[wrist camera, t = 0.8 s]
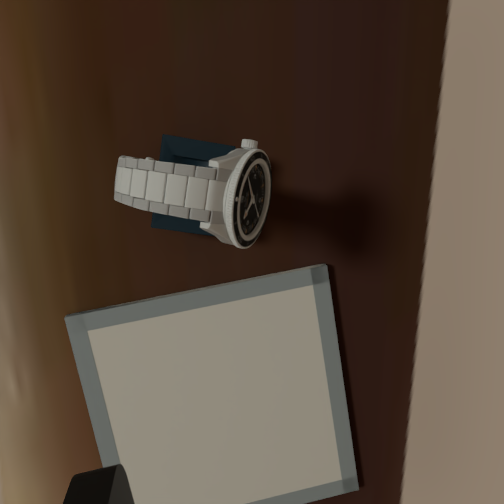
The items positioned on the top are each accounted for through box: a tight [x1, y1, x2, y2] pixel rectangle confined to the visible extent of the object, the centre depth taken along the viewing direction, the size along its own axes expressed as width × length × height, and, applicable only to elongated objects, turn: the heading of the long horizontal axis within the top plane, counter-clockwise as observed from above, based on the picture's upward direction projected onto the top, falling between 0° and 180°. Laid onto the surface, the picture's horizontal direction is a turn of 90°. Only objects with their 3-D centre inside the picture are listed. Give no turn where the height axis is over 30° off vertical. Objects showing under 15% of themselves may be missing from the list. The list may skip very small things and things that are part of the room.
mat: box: [65, 263, 359, 504], centre depth 34 cm, size 18×18×1 cm
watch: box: [114, 134, 272, 249], centre depth 26 cm, size 6×8×11 cm
